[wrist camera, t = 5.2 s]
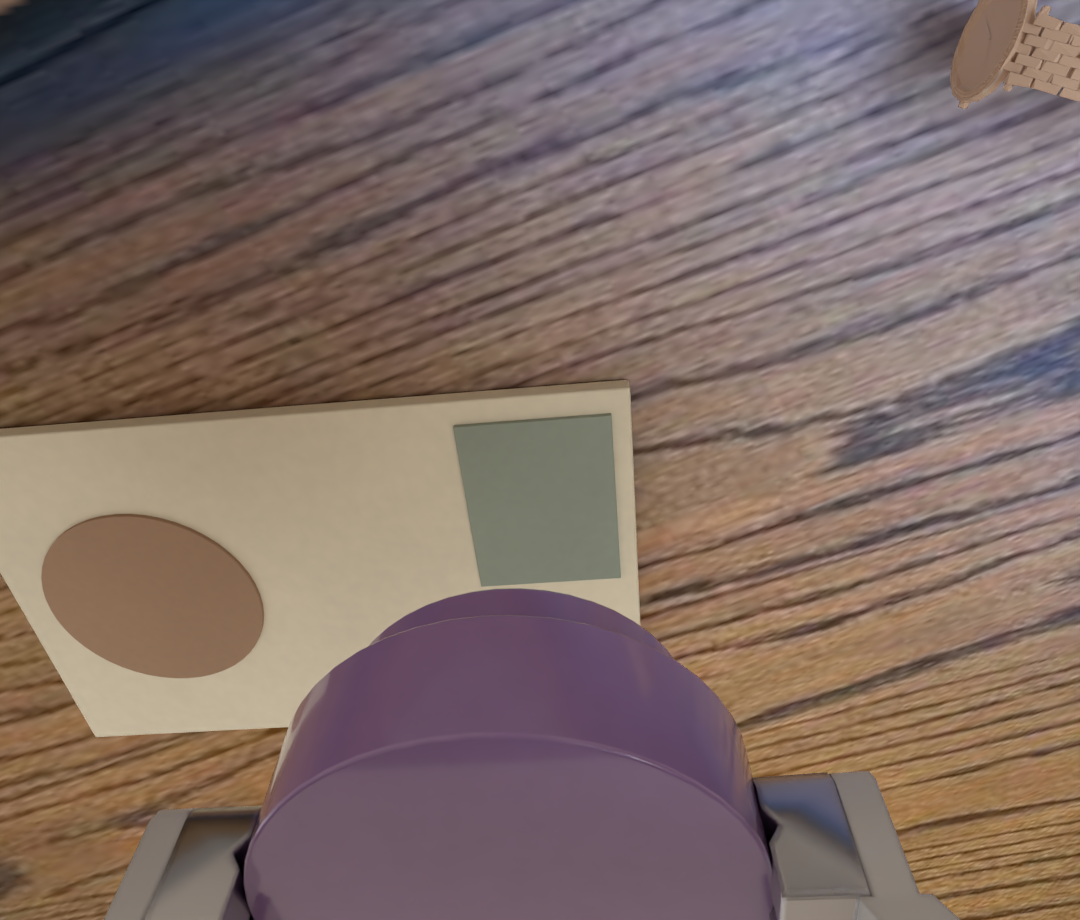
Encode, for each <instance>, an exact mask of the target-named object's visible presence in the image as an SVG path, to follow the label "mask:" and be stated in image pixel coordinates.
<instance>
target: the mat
mask: <svg viewBox="0 0 1080 920" xmlns="http://www.w3.org/2000/svg"><path fill="white" fill-rule="evenodd" d="M0 573H1V575H2V576H3V578H4V580H5V581H6V583H7V585H8V587H9V588H10V590H11V592H12V594H13V595H14V597H15V599H16V600H17V602H18V604H19V606H20V607H21V609H22V611H23V613H24V614H25V616H26V618H27V619H28V621H29V623H30V625H31V626H32V628H33V630H34V632H35V633H36V635H37V637H38V638H39V640H40V642H41V644H42V645H43V647H44V649H45V650H46V652H47V654H48V656H49V657H50V659H51V661H52V663H53V664H54V666H55V668H56V669H57V671H58V673H59V675H60V676H61V678H62V680H63V682H64V683H65V685H66V687H67V688H68V690H69V692H70V694H71V695H72V697H73V699H74V701H75V702H76V704H77V706H78V707H79V709H80V711H81V713H82V714H83V716H84V718H85V719H86V721H87V723H88V725H89V726H90V728H91V730H92V732H93V733H94V735H95V736H96V737H106V736H125V735H144V734H163V733H182V732H201V731H220V730H239V729H258V728H277V727H289V725H290V722H291V720H292V718H293V716H294V715H295V713H296V711H297V709H298V707H299V705H300V703H301V702H302V701H303V700H304V698H305V697H306V696H307V695H308V693H309V692H310V691H311V690H312V688H313V687H314V686H315V685H316V684H317V683H318V682H319V681H320V680H321V679H322V678H323V677H324V676H325V675H327V674H328V673H329V672H330V671H331V670H332V669H333V668H334V667H336V666H337V665H338V664H340V663H341V662H343V661H344V660H346V659H347V658H349V657H350V656H352V655H353V654H355V653H356V652H358V651H359V650H361V649H364V648H366V647H368V646H369V645H370V644H371V642H372V641H373V640H374V639H375V638H376V637H378V636H379V635H380V634H381V633H382V632H383V631H384V630H385V629H387V628H388V627H389V626H390V625H392V624H393V623H395V622H396V621H398V620H399V619H401V618H402V617H404V616H405V615H407V614H409V613H411V612H413V611H415V610H417V609H419V608H421V607H423V606H425V605H427V604H430V603H433V602H436V601H438V600H441V599H444V598H447V597H451V596H455V595H459V594H464V593H468V592H473V591H481V590H490V589H507V588H524V589H537V590H547V591H553V592H558V593H564V594H569V595H573V596H576V597H580V598H583V599H587V600H590V601H593V602H596V603H598V604H600V605H603V606H605V607H608V608H610V609H613V610H615V611H617V612H618V613H620V614H622V615H624V616H626V617H627V618H629V619H631V620H633V621H634V622H636V623H637V624H638V625H640V604H639V581H638V558H637V535H636V511H635V488H634V465H633V442H632V419H631V396H630V385H629V381H628V380H617V381H604V382H591V383H579V384H566V385H553V386H540V387H527V388H515V389H502V390H489V391H476V392H464V393H451V394H438V395H425V396H412V397H400V398H387V399H374V400H361V401H349V402H336V403H323V404H310V405H297V406H285V407H272V408H259V409H246V410H234V411H221V412H208V413H195V414H182V415H170V416H157V417H144V418H131V419H118V420H106V421H93V422H80V423H67V424H55V425H42V426H29V427H16V428H3V429H0Z"/></svg>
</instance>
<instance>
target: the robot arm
mask: <svg viewBox="0 0 1080 920" xmlns="http://www.w3.org/2000/svg"><path fill="white" fill-rule="evenodd" d="M752 780H753V784H754V789H755V793H756V797H757V802H758V806H759V810H760V815H761V819H762V822H763V826H764V830H765V834H766V838H767V842H768V846H769V854H770V858H771V864H772V876H771V896H772V900H773V904H774V908H773V909H772V911H771V912H769V920H960V919H959V918H958V917H957V916H956V915H955V914H954V913H953V912H951V911H950V910H949V909H948V908H947V907H946V906H945V905H944V904H943V903H942V902H940V901H939V900H938V899H937V898H936V897H935V896H934V895H933V894H920V893H919V891H918V888H917V885H916V883H915V880H914V878H913V875H912V872H911V870H910V867H909V865H908V862H907V859H906V857H905V854H904V851H903V849H902V846H901V844H900V841H899V838H898V836H897V833H896V831H895V828H894V825H893V823H892V820H891V818H890V815H889V812H888V810H887V807H886V804H885V802H884V799H883V797H882V794H881V791H880V789H879V786H878V784H877V781H876V779H875V778H874V776H873V775H872V774H871V773H870V772H868V771H859V772H846V773H833V774H828V773H827V772H826V773H812V774H798V775H784V776H771V777H757V778H752ZM261 808H262V806H249V807H223V808H190V809H172V810H159V811H158V813H157V814H156V815H155V816H154V817H153V818H152V819H151V820H150V822H149V823H148V825H147V827H146V829H145V831H144V834H143V836H142V838H141V840H140V842H139V844H138V847H137V849H136V851H135V853H134V855H133V857H132V860H131V862H130V864H129V866H128V868H127V870H126V873H125V875H124V877H123V879H122V881H121V883H120V886H119V888H118V890H117V892H116V894H115V896H114V899H113V901H112V903H111V905H110V907H109V909H108V912H107V914H106V916H105V918H104V920H253V917H252V915H251V912H250V910H249V908H248V905H247V901H246V895H245V889H244V883H243V877H244V861H245V857H246V854H247V851H248V847H249V844H250V841H251V838H252V835H253V832H254V829H255V826H256V823H257V820H258V817H259V814H260V811H261Z"/></svg>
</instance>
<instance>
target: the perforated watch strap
mask: <svg viewBox="0 0 1080 920" xmlns="http://www.w3.org/2000/svg"><path fill="white" fill-rule="evenodd" d="M1037 1H1038V0H979V2H978V4H977V6H976V8H975V9H974V11H973V13H972V15H971V17H970V18H969V20H968V22H967V24H966V26H965V28H964V30H963V33H962V35H961V38H960V40H959V43H958V45H957V48H956V51H955V54H954V58H953V60H952V67H951V76H950V83H951V88H952V93H953V95H954V96H955V97H956V98H957V99H958V100H959V101H960V102H959V105H958V107H960V108H962V109H966V108H968V106H969V104H970V102H976V101H979V100H981V99H982V98H984V97H986V96H987V95H989V94H990V93H992V92H993V91H995V89H996V88H997V87H998V86H999V85H1000V83H1001V82H1002V81H1003V80H1004V79H1005V80H1004V82H1003V83H1005V85H1004V87H1003V89H1004V90H1005V91H1011V89H1012V87H1013V85H1017V86H1024V87H1030V88H1033V89H1037V90H1040V91H1044V92H1047V93H1050V94H1054V95H1058V93H1059V91H1060V89H1061V87H1064V88H1063V90H1062V92H1061V93H1060V95H1059V96H1061V97H1065V98H1068V99H1072V100H1075V101H1079V102H1080V26H1079V25H1075V24H1071V23H1067V22H1065V23H1064V21H1062V20H1059V19H1057V18H1054V17H1052V16H1049V15H1048V14H1049V12H1050V10H1051V7H1050V6H1043V7H1042V8H1041V10H1040V12H1038V13H1037V15H1036V18H1035V13H1036V7H1037ZM1063 23H1064V25H1063ZM1072 36H1073V37H1072ZM1042 37H1043V38H1042ZM1046 38H1047V39H1046ZM1048 50H1049V51H1048ZM1071 56H1072V57H1071ZM1038 69H1039V70H1038ZM1044 81H1045V82H1044Z"/></svg>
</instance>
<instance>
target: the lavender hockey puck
mask: <svg viewBox="0 0 1080 920" xmlns="http://www.w3.org/2000/svg"><path fill="white" fill-rule="evenodd" d="M752 778H753V777H752V773H751V768H750V764H749V760H748V756H747V752H746V748H745V745H744V741H743V737H742V735H741V733H740V731H739V729H738V727H737V725H736V723H735V721H734V719H733V717H732V715H731V714H730V712H729V711H728V710H727V708H726V707H725V705H724V704H723V703H722V701H721V700H720V699H719V697H718V696H717V695H716V694H715V693H714V692H713V691H712V690H711V689H710V688H709V687H708V686H707V685H706V684H705V683H704V682H703V681H702V680H701V679H700V678H699V677H698V676H696V675H695V674H694V673H692V672H691V671H690V670H688V669H687V668H685V667H684V666H683V665H681V664H680V663H679V662H677V661H676V660H674V659H673V657H672V656H671V655H670V653H669V652H668V651H667V649H666V648H665V647H664V646H663V645H662V644H661V643H660V642H659V641H658V640H657V639H656V638H655V637H654V636H653V635H652V634H651V633H649V632H648V631H647V630H645V629H644V628H642V627H641V626H640V625H638V624H637V623H636V622H634V621H633V620H631V619H629V618H627V617H626V616H624V615H622V614H620V613H618V612H617V611H615V610H613V609H610V608H608V607H605V606H603V605H600V604H598V603H596V602H593V601H590V600H587V599H583V598H580V597H576V596H573V595H569V594H564V593H558V592H553V591H547V590H537V589H524V588H507V589H490V590H481V591H473V592H468V593H464V594H459V595H455V596H451V597H447V598H444V599H441V600H438V601H436V602H433V603H430V604H427V605H425V606H423V607H421V608H419V609H417V610H415V611H413V612H411V613H409V614H407V615H405V616H404V617H402V618H401V619H399V620H398V621H396V622H395V623H393V624H392V625H390V626H389V627H388V628H387V629H385V630H384V631H383V632H382V633H381V634H380V635H379V636H378V637H376V638H375V639H374V640H373V641H372V642H371V644H370V645H369V646H368V647H366V648H364V649H361V650H359V651H358V652H356V653H355V654H353V655H352V656H350V657H349V658H347V659H346V660H344V661H343V662H341V663H340V664H338V665H337V666H336V667H334V668H333V669H332V670H331V671H330V672H329V673H328V674H327V675H325V676H324V677H323V678H322V679H321V680H320V681H319V682H318V683H317V684H316V685H315V686H314V687H313V688H312V690H311V691H310V692H309V693H308V695H307V696H306V697H305V698H304V700H303V701H302V702H301V703H300V705H299V707H298V709H297V711H296V713H295V715H294V716H293V718H292V720H291V722H290V725H289V728H288V731H287V734H286V737H285V740H284V743H283V746H282V749H281V752H280V754H279V757H278V760H277V763H276V766H275V769H274V772H273V775H272V778H271V781H270V784H269V787H268V790H267V793H266V796H265V799H264V802H263V805H262V808H261V811H260V814H259V817H258V820H257V823H256V826H255V829H254V832H253V835H252V838H251V841H250V844H249V847H248V851H247V854H246V857H245V861H244V877H243V883H244V889H245V895H246V901H247V905H248V908H249V910H250V912H251V915H252V917H253V920H769V912H771V911H772V909H773V908H774V904H773V900H772V896H771V876H772V864H771V858H770V854H769V846H768V842H767V838H766V834H765V830H764V826H763V822H762V819H761V815H760V810H759V806H758V802H757V797H756V793H755V789H754V784H753V780H752Z"/></svg>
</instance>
